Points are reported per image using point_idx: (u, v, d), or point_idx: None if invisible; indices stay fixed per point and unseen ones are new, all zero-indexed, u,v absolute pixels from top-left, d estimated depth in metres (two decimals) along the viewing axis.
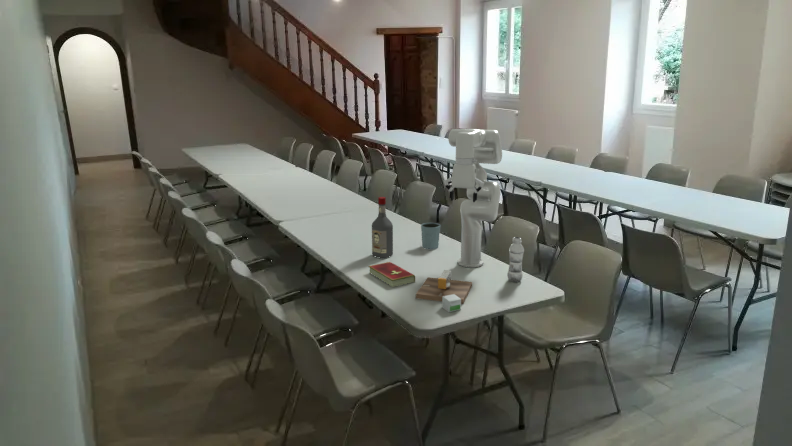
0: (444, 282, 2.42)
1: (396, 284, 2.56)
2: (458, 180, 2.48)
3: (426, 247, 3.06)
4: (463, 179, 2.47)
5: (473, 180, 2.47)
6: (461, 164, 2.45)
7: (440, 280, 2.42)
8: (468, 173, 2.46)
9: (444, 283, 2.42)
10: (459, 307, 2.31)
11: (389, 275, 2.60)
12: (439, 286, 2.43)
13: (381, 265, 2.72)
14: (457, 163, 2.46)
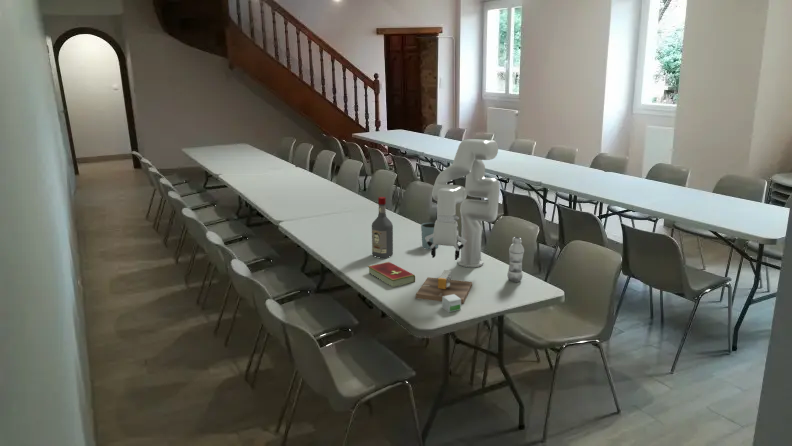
0: (444, 282, 2.42)
1: (396, 284, 2.56)
2: (440, 237, 2.41)
3: (426, 247, 3.06)
4: (445, 236, 2.40)
5: (455, 238, 2.39)
6: (443, 221, 2.37)
7: (440, 280, 2.42)
8: (450, 231, 2.39)
9: (444, 283, 2.42)
10: (459, 307, 2.31)
11: (389, 275, 2.60)
12: (439, 286, 2.43)
13: (380, 265, 2.72)
14: (438, 220, 2.39)
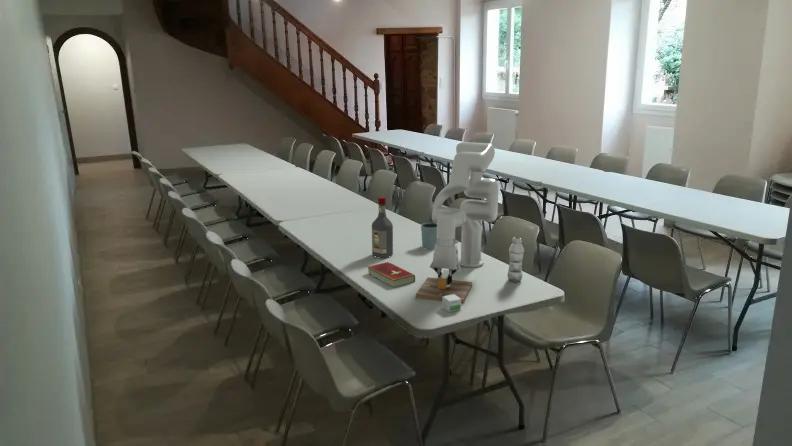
0: (444, 282, 2.42)
1: (397, 284, 2.56)
2: (439, 261, 2.44)
3: (426, 247, 3.06)
4: (445, 260, 2.43)
5: (455, 261, 2.42)
6: (442, 246, 2.40)
7: (440, 280, 2.42)
8: (449, 254, 2.42)
9: (444, 283, 2.42)
10: (459, 307, 2.31)
11: (389, 275, 2.59)
12: (439, 286, 2.43)
13: (380, 265, 2.71)
14: (438, 244, 2.42)
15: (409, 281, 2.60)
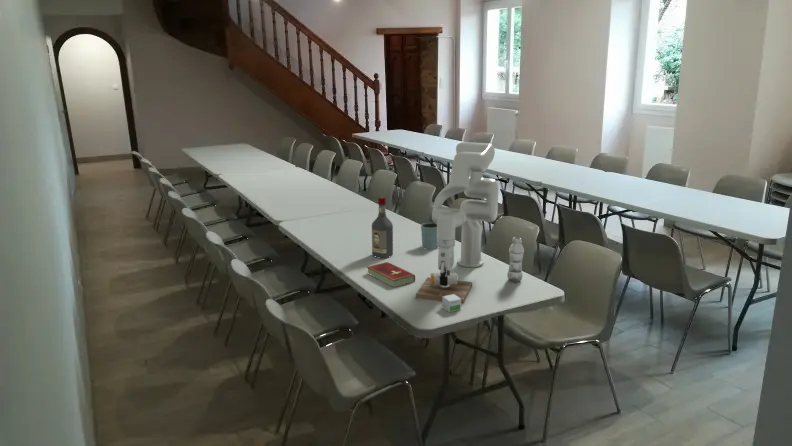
0: (431, 278, 2.46)
1: (397, 284, 2.56)
2: None
3: (426, 247, 3.06)
4: None
5: (438, 262, 2.42)
6: None
7: None
8: None
9: (431, 279, 2.46)
10: (459, 307, 2.31)
11: (389, 275, 2.59)
12: (430, 280, 2.49)
13: (379, 265, 2.71)
14: None
15: (409, 281, 2.60)
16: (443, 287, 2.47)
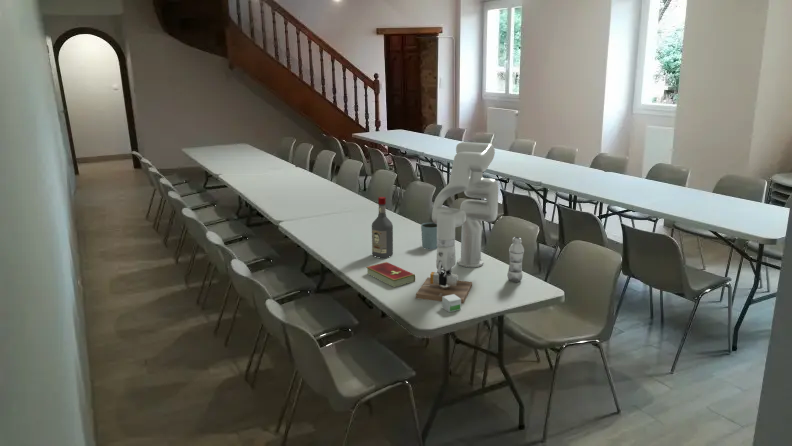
0: None
1: (397, 284, 2.56)
2: None
3: (426, 247, 3.06)
4: None
5: (436, 261, 2.43)
6: None
7: (431, 273, 2.49)
8: None
9: (430, 277, 2.48)
10: (459, 307, 2.31)
11: (389, 275, 2.59)
12: None
13: (379, 265, 2.71)
14: None
15: (409, 281, 2.60)
16: (442, 287, 2.47)
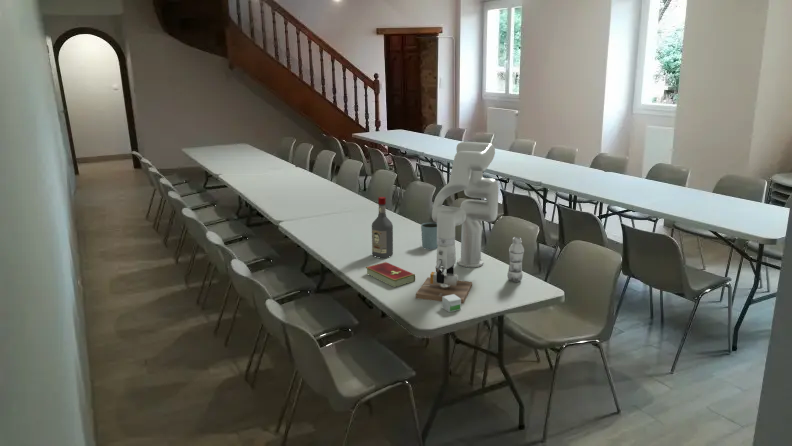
0: None
1: (397, 284, 2.56)
2: None
3: (426, 247, 3.06)
4: None
5: None
6: None
7: None
8: None
9: None
10: (459, 307, 2.31)
11: (389, 275, 2.59)
12: None
13: (378, 266, 2.71)
14: None
15: (409, 281, 2.60)
16: (442, 287, 2.47)
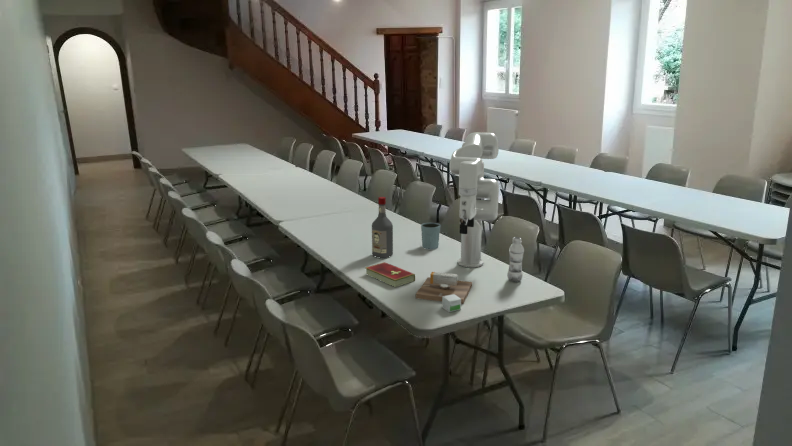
0: None
1: (398, 284, 2.56)
2: None
3: (426, 247, 3.06)
4: None
5: None
6: None
7: None
8: None
9: None
10: (459, 307, 2.31)
11: (389, 275, 2.59)
12: None
13: (377, 266, 2.71)
14: None
15: (409, 280, 2.60)
16: (442, 287, 2.47)
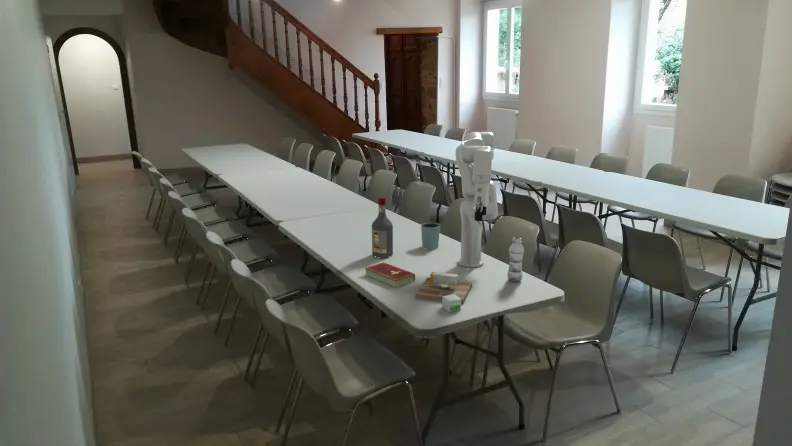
0: None
1: (398, 284, 2.56)
2: None
3: (426, 247, 3.06)
4: None
5: (474, 198, 2.44)
6: None
7: None
8: None
9: None
10: (459, 307, 2.31)
11: (390, 275, 2.59)
12: None
13: (377, 266, 2.70)
14: None
15: (409, 280, 2.61)
16: (442, 287, 2.47)
